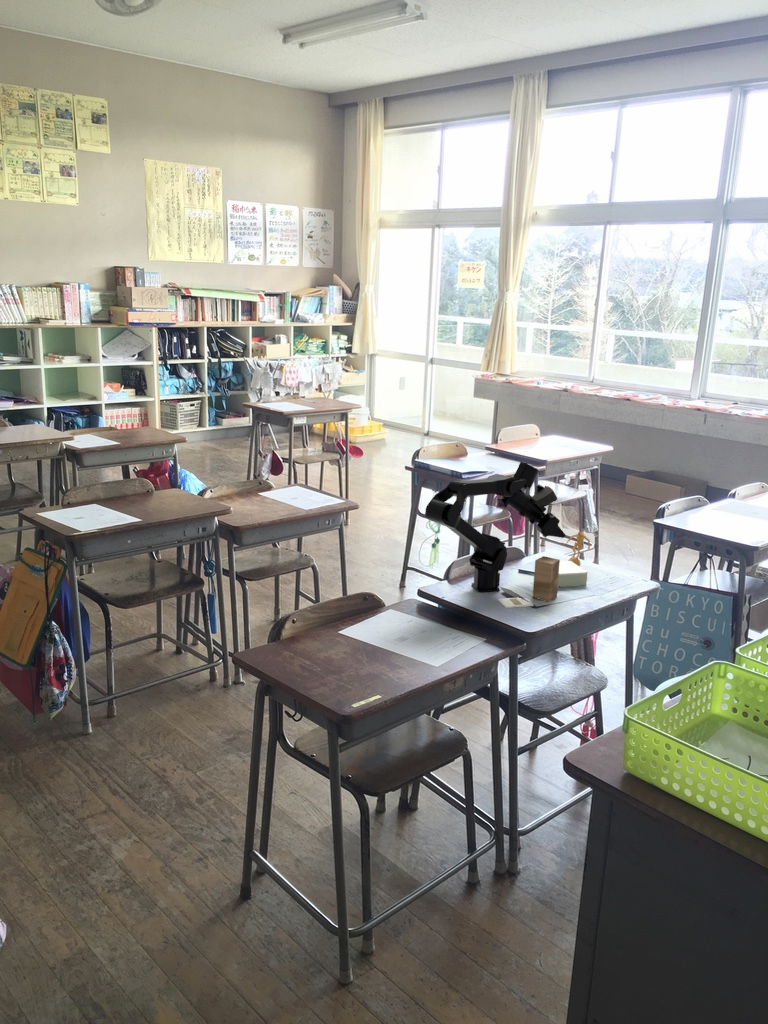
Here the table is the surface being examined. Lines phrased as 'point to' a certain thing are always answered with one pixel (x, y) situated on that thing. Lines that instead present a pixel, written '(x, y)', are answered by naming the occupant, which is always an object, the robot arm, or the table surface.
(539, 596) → the walnut block
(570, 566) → the base block
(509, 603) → the card
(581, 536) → the figurine
